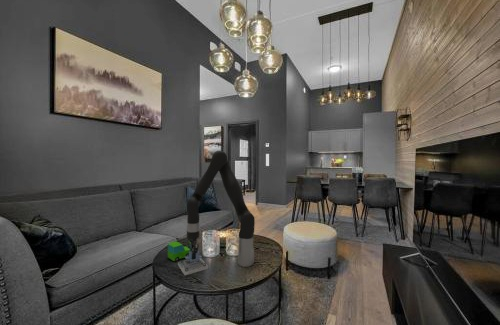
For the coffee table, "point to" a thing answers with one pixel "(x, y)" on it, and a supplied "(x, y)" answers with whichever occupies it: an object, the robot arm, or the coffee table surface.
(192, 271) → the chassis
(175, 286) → the coffee table surface
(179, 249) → the toy car
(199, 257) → the block
